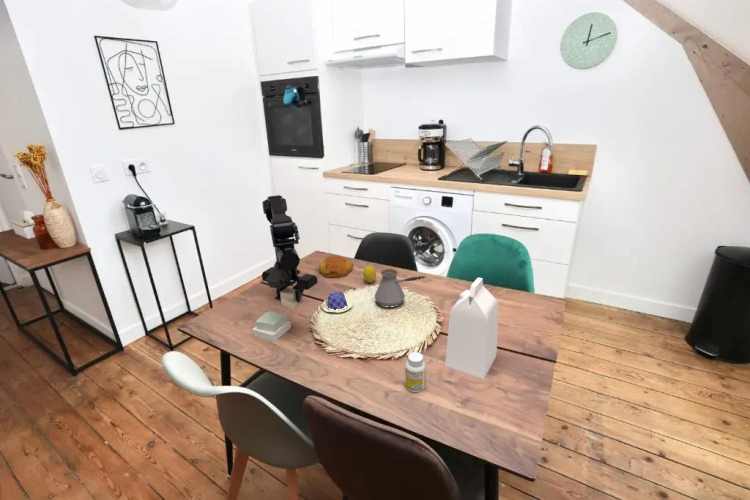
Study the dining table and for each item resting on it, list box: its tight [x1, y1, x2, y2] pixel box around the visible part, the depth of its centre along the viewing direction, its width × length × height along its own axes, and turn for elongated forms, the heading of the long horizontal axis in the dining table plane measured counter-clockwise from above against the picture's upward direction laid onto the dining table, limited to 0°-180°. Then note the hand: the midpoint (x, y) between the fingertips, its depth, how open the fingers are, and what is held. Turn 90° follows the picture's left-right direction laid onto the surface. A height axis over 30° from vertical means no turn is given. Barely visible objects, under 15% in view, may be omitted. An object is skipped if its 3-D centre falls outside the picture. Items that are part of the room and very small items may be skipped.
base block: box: [251, 320, 292, 342], centre depth 131 cm, size 9×9×3 cm
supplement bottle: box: [404, 351, 427, 393], centre depth 103 cm, size 5×5×10 cm
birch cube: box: [280, 285, 304, 309], centre depth 128 cm, size 5×5×5 cm
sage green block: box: [255, 310, 287, 332], centre depth 130 cm, size 7×7×3 cm
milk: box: [444, 277, 499, 380], centre depth 109 cm, size 12×12×26 cm
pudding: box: [321, 291, 348, 310], centre depth 145 cm, size 12×12×5 cm
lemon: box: [362, 265, 377, 283], centre depth 163 cm, size 6×6×8 cm
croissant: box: [318, 255, 354, 279], centre depth 174 cm, size 14×16×8 cm
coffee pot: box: [374, 268, 428, 308], centre depth 142 cm, size 21×12×15 cm, turn 54°
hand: (292, 300), depth 129 cm, fingers closed on birch cube, 5 cm apart
